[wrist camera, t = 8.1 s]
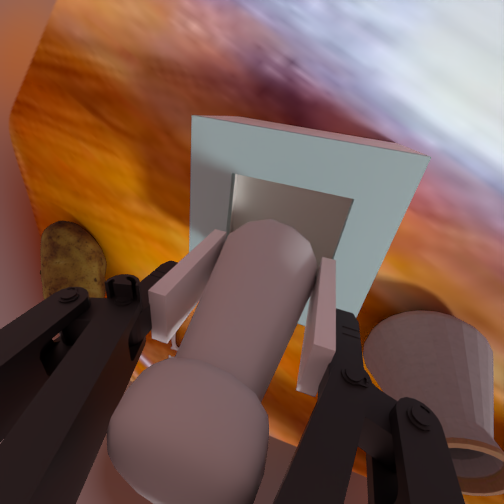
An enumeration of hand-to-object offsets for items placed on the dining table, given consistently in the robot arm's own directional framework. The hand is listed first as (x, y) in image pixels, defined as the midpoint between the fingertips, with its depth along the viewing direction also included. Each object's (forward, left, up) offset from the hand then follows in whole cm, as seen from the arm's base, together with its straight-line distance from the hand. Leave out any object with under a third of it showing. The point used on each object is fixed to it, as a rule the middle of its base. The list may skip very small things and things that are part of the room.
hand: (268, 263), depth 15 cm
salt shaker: (0, 0, -2) cm, 2 cm away
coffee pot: (-17, -16, -13) cm, 26 cm away
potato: (-15, +27, -13) cm, 33 cm away
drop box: (0, 0, -12) cm, 12 cm away
